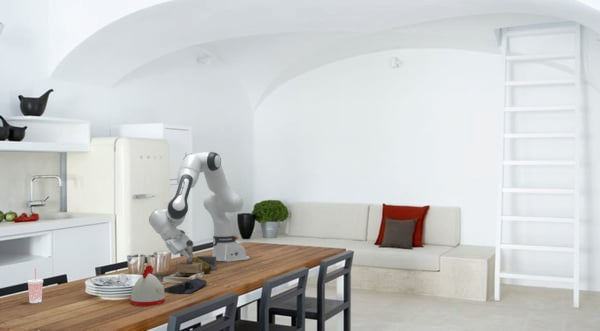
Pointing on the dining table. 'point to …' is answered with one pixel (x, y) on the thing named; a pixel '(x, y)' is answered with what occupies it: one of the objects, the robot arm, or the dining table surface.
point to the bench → (178, 276)
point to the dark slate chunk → (186, 287)
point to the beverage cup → (35, 289)
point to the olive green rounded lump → (203, 265)
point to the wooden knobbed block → (189, 262)
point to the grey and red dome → (147, 290)
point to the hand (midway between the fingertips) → (190, 256)
